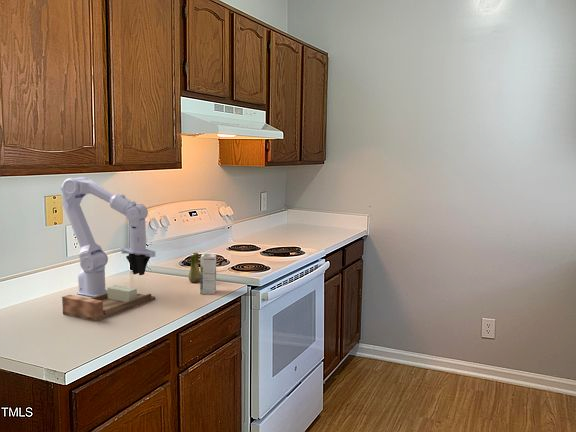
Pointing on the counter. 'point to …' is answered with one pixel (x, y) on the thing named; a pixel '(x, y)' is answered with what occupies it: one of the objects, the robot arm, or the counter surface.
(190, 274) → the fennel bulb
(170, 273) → the counter surface
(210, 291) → the syrup box
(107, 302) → the track
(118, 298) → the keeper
